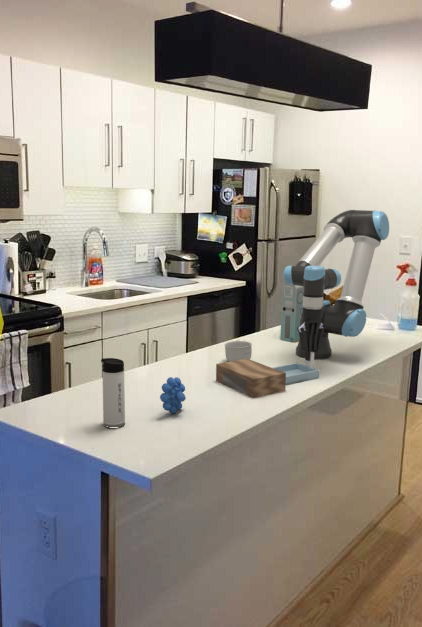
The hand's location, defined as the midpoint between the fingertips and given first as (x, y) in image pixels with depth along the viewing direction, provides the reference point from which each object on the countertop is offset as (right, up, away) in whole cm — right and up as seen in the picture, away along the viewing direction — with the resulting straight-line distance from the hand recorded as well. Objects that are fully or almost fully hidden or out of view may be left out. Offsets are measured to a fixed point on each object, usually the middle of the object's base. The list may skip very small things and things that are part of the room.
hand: (309, 368), depth 237 cm
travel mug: (-66, -12, -54) cm, 86 cm away
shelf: (-24, -5, -15) cm, 29 cm away
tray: (-9, -3, -5) cm, 11 cm away
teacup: (-26, +1, +16) cm, 31 cm away
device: (+3, +9, +57) cm, 58 cm away
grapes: (-48, -10, -44) cm, 66 cm away
